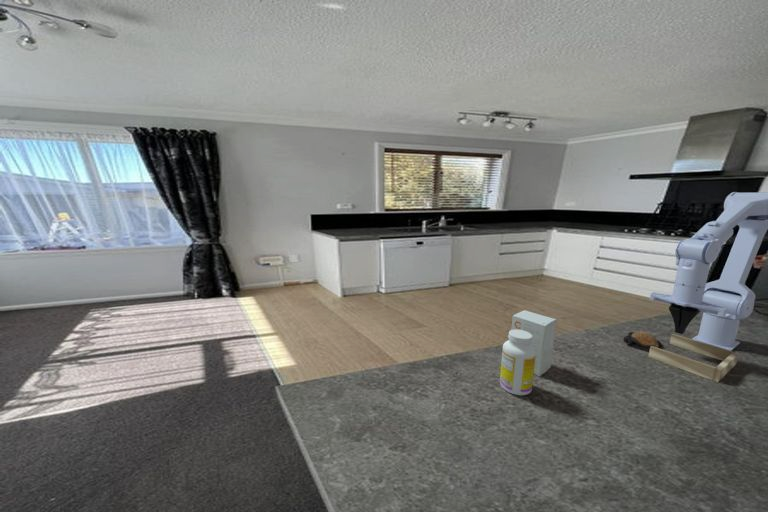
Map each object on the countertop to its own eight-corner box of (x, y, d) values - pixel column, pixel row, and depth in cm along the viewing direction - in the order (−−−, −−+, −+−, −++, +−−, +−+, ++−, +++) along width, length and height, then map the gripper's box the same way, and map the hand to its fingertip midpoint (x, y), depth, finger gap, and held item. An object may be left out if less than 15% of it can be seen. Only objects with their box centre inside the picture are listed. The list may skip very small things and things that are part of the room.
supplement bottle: (531, 383, 69) (537, 330, 67) (532, 400, 63) (538, 343, 61) (500, 375, 72) (505, 325, 69) (498, 391, 66) (503, 337, 63)
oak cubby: (670, 343, 89) (672, 333, 89) (736, 363, 78) (739, 353, 78) (648, 356, 81) (650, 346, 81) (718, 382, 70) (720, 370, 70)
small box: (551, 368, 75) (557, 319, 73) (539, 377, 71) (546, 325, 69) (519, 354, 81) (524, 309, 79) (507, 362, 77) (512, 315, 75)
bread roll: (625, 335, 95) (627, 324, 95) (661, 344, 90) (663, 332, 89) (620, 346, 88) (622, 334, 87) (659, 357, 82) (662, 344, 81)
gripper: (648, 280, 84) (640, 325, 86) (725, 294, 71) (713, 347, 74) (659, 276, 87) (650, 320, 90) (733, 289, 75) (721, 340, 78)
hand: (679, 332), depth 82 cm, fingers closed
